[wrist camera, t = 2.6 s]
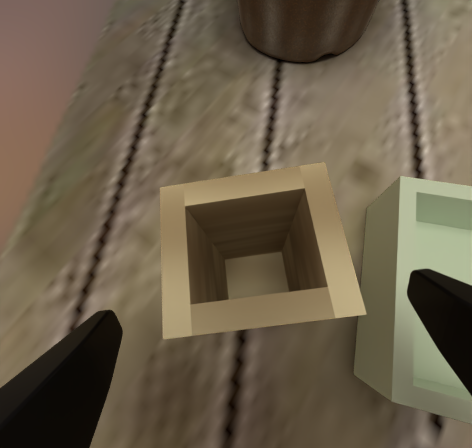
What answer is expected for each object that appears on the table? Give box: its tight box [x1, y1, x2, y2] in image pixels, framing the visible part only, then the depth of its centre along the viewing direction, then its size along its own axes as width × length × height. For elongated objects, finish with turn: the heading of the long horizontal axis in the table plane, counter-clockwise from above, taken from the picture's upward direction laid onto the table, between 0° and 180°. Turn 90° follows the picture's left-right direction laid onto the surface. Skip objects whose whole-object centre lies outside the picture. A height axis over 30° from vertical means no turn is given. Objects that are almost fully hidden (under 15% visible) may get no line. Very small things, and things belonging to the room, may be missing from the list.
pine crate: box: [160, 162, 367, 339], centre depth 12 cm, size 5×5×10 cm
